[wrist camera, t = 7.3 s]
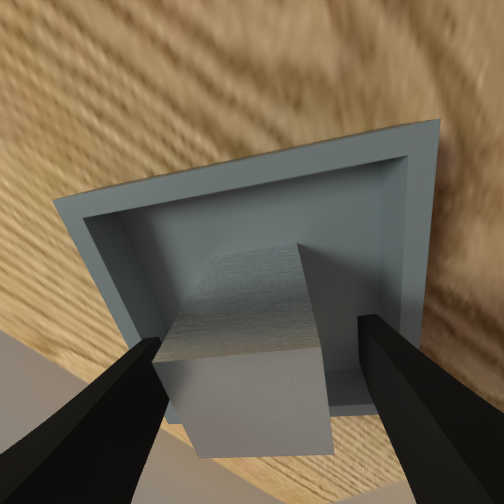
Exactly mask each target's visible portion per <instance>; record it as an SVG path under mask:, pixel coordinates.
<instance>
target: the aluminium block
mask: <svg viewBox="0 0 504 504" xmlns="http://www.w3.org/2000/svg"><path fill="white" fill-rule="evenodd" d="M152 364H153V366H154V368H155V370H156V372H157V374H158V376H159V379H160V381H161V383H162V385H163V387H164V389H165V391H166V393H167V395H168V397H169V399H170V401H171V403H172V405H173V407H174V409H175V411H176V413H177V415H178V417H179V419H180V421H181V423H182V425H183V427H184V429H185V431H186V433H187V435H188V437H189V439H190V441H191V443H192V445H193V447H194V449H195V451H196V453H197V455H198V457H199V458H231V457H268V456H305V455H335V454H334V446H333V438H332V430H331V422H330V414H329V406H328V398H327V390H326V382H325V375H324V367H323V359H322V351H321V345H320V340H319V336H318V332H317V328H316V323H315V319H314V315H313V311H312V306H311V302H310V298H309V294H308V289H307V285H306V281H305V277H304V272H303V268H302V264H301V260H300V255H299V251H298V247H297V243H293V244H287V245H281V246H275V247H268V248H262V249H256V250H250V251H243V252H237V253H231V254H225V255H218V256H212V257H210V258H209V260H208V261H207V263H206V265H205V267H204V269H203V271H202V272H201V274H200V276H199V278H198V280H197V281H196V283H195V285H194V287H193V289H192V290H191V292H190V294H189V296H188V298H187V300H186V301H185V303H184V305H183V307H182V309H181V310H180V312H179V314H178V316H177V318H176V319H175V321H174V323H173V325H172V327H171V329H170V330H169V332H168V334H167V336H166V338H165V339H164V341H163V343H162V345H161V347H160V348H159V350H158V352H157V354H156V356H155V358H154V359H153V361H152Z"/></svg>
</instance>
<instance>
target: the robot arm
mask: <svg viewBox="0 0 504 504" xmlns="http://www.w3.org/2000/svg"><path fill="white" fill-rule="evenodd" d="M357 326H358V353H359V363H360V366H361V369H362V372H363V376H364V379H365V382H366V385H367V388H368V391H369V393H370V396H371V398H372V400H373V403H374V405H375V407H376V410H377V412H378V414H379V416H380V419H381V421H382V423H383V425H384V428H385V430H386V432H387V435H388V437H389V439H390V441H391V444H392V446H393V448H394V450H395V453H396V455H397V457H398V459H399V462H400V464H401V466H402V468H403V471H404V473H405V475H406V478H407V480H408V483H409V485H410V488H411V490H412V493H413V495H414V498H415V500H416V503H417V504H504V413H502V412H501V411H500V410H498V409H497V408H495V407H494V406H492V405H491V404H490V403H488V402H487V401H485V400H484V399H482V398H481V397H480V396H478V395H477V394H476V393H474V392H473V391H471V390H470V389H469V388H467V387H466V386H465V385H463V384H462V383H461V382H459V381H458V380H457V379H455V378H454V377H453V376H451V375H450V374H449V373H447V372H446V371H445V370H443V369H442V368H441V367H440V366H438V365H437V364H436V363H435V362H433V361H432V360H431V359H430V358H428V357H427V356H426V355H425V354H423V353H422V352H421V351H420V350H418V349H417V348H416V347H415V346H414V345H412V344H411V343H410V342H409V341H408V340H406V339H405V338H404V337H403V336H402V335H401V334H399V333H398V332H397V331H396V330H395V329H394V328H393V327H391V326H390V325H389V324H388V323H387V322H386V321H384V320H383V319H382V318H381V317H380V316H379V315H377V314H370V315H361V316H357ZM161 345H162V342H161V340H160V338H159V337H149V338H144V339H142V340H141V341H140V342H138V343H137V344H136V345H135V346H134V347H132V348H131V349H130V350H129V351H128V352H126V353H125V354H124V355H123V356H122V357H121V358H120V359H118V360H117V361H116V362H115V363H114V364H113V365H112V366H110V367H109V368H108V369H107V370H106V371H105V372H103V373H102V374H101V375H100V376H99V377H98V378H97V379H95V380H94V381H93V382H92V383H91V384H90V385H88V387H86V388H85V389H84V390H82V391H81V392H80V393H79V394H78V395H77V396H75V397H74V398H73V399H72V400H70V401H69V402H68V403H67V404H65V405H64V406H63V407H62V408H61V409H59V410H58V411H57V412H56V413H55V414H53V415H52V416H51V417H50V418H48V419H47V420H46V421H45V422H43V423H42V424H41V425H39V426H38V427H37V428H36V429H34V430H33V431H31V432H30V433H29V434H28V435H26V436H25V437H23V438H22V439H21V440H19V441H18V442H17V443H15V444H14V445H13V446H11V447H10V448H9V449H7V450H6V451H4V452H3V453H2V454H0V504H131V501H132V498H133V495H134V492H135V489H136V486H137V484H138V481H139V478H140V476H141V473H142V470H143V468H144V465H145V463H146V460H147V458H148V455H149V453H150V450H151V448H152V445H153V443H154V440H155V438H156V435H157V433H158V430H159V428H160V425H161V422H162V420H163V417H164V415H165V412H166V409H167V407H168V404H169V400H170V399H169V397H168V395H167V393H166V391H165V389H164V387H163V385H162V383H161V381H160V379H159V376H158V374H157V372H156V370H155V368H154V366H153V364H152V361H153V359H154V358H155V356H156V354H157V352H158V350H159V348H160V347H161Z"/></svg>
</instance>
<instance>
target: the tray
mask: <svg viewBox="0 0 504 504" xmlns="http://www.w3.org/2000/svg"><path fill="white" fill-rule="evenodd" d="M440 120H441V119H435V120H428V121H421V122H414V123H407V124H400V125H395V126H390V127H385V128H381V129H376V130H371V131H366V132H362V133H357V134H352V135H348V136H343V137H338V138H333V139H329V140H324V141H319V142H314V143H310V144H305V145H300V146H296V147H291V148H286V149H281V150H277V151H272V152H267V153H262V154H258V155H253V156H248V157H244V158H239V159H234V160H229V161H225V162H220V163H215V164H211V165H206V166H201V167H196V168H192V169H187V170H182V171H177V172H173V173H168V174H163V175H159V176H154V177H149V178H144V179H140V180H135V181H130V182H125V183H121V184H116V185H111V186H107V187H102V188H97V189H93V190H90V191H86V192H82V193H78V194H74V195H70V196H67V197H63V198H59V199H55V200H52V201H53V203H54V205H55V207H56V209H57V211H58V213H59V215H60V216H61V218H62V220H63V222H64V224H65V226H66V228H67V230H68V232H69V234H70V236H71V238H72V240H73V241H74V243H75V245H76V247H77V249H78V251H79V253H80V255H81V257H82V259H83V261H84V263H85V265H86V266H87V268H88V270H89V272H90V274H91V276H92V278H93V280H94V282H95V284H96V286H97V288H98V290H99V291H100V293H101V295H102V297H103V299H104V301H105V303H106V305H107V307H108V309H109V311H110V313H111V315H112V316H113V318H114V320H115V322H116V324H117V326H118V328H119V330H120V332H121V334H122V336H123V338H124V340H125V341H126V343H127V345H128V347H129V349H131V348H132V347H134V346H135V345H136V344H137V343H138V342H140V341H141V340H142V339H144V338H149V337H159V338H160V340H161V342H162V343H163V341H164V339H165V338H166V336H167V334H168V332H169V330H170V329H171V327H172V325H173V323H174V321H175V319H176V318H177V316H178V314H179V312H180V310H181V309H182V307H183V305H184V303H185V301H186V300H187V298H188V296H189V294H190V292H191V290H192V289H193V287H194V285H195V283H196V281H197V280H198V278H199V276H200V274H201V272H202V271H203V269H204V267H205V265H206V263H207V261H208V260H209V258H210V257H212V256H218V255H225V254H231V253H237V252H243V251H250V250H256V249H262V248H268V247H275V246H281V245H287V244H293V243H297V247H298V251H299V255H300V260H301V264H302V268H303V272H304V277H305V281H306V285H307V289H308V294H309V298H310V302H311V306H312V311H313V315H314V319H315V323H316V328H317V332H318V336H319V340H320V345H321V351H322V359H323V367H324V375H325V382H326V390H327V398H328V406H329V414H330V417H335V416H357V415H379V414H378V412H377V410H376V407H375V405H374V403H373V400H372V398H371V396H370V393H369V391H368V388H367V385H366V382H365V379H364V376H363V372H362V369H361V366H360V363H359V353H358V326H357V316H361V315H370V314H377V315H379V316H380V317H381V318H382V319H383V320H384V321H386V322H387V323H388V324H389V325H390V326H391V327H393V328H394V329H395V330H396V331H397V332H398V333H399V334H401V335H402V336H403V337H404V338H405V339H406V340H408V341H409V342H410V343H411V344H412V345H414V346H415V347H416V348H417V349H418V350H419V349H420V338H421V327H422V316H423V305H424V294H425V283H426V272H427V261H428V251H429V240H430V229H431V218H432V207H433V196H434V185H435V174H436V164H437V153H438V142H439V131H440ZM164 416H165V418H166V420H167V422H168V424H182V423H181V421H180V419H179V417H178V415H177V413H176V411H175V409H174V407H173V405H172V403H171V401H170V400H169V404H168V407H167V409H166V412H165V415H164Z"/></svg>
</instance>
